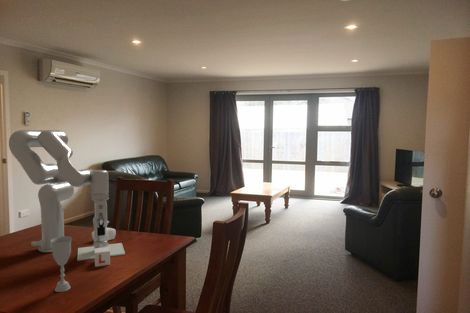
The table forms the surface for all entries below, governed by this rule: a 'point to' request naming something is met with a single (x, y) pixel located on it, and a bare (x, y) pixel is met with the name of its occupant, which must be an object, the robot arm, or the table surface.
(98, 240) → the metal bottle
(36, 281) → the table surface
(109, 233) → the bust
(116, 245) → the sage mat
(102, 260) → the lettered cube
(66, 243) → the chalice
